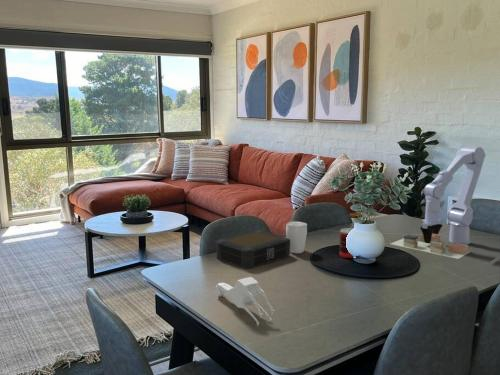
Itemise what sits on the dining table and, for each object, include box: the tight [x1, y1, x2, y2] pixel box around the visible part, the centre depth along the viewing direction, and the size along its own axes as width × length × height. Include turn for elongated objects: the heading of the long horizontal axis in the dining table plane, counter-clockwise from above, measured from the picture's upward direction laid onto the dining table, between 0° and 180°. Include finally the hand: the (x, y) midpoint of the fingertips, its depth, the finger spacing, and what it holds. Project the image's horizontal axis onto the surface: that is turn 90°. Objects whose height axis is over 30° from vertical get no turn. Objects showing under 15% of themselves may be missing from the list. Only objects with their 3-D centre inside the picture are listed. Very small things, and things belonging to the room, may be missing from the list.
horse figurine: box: [215, 276, 275, 327], centre depth 145 cm, size 5×16×25 cm
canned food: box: [339, 227, 354, 259], centre depth 196 cm, size 8×8×11 cm
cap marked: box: [420, 233, 441, 244], centre depth 208 cm, size 6×6×3 cm
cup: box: [285, 221, 308, 254], centre depth 203 cm, size 9×9×12 cm
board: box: [390, 237, 471, 260], centre depth 205 cm, size 13×30×1 cm, turn 45°
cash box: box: [216, 230, 291, 270], centre depth 196 cm, size 25×20×8 cm
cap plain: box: [448, 242, 469, 254], centre depth 200 cm, size 6×6×3 cm
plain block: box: [430, 239, 446, 255], centre depth 199 cm, size 4×4×4 cm
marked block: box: [403, 234, 419, 249], centre depth 207 cm, size 4×4×4 cm
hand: (430, 241), depth 208 cm, fingers closed on cap marked, 6 cm apart
